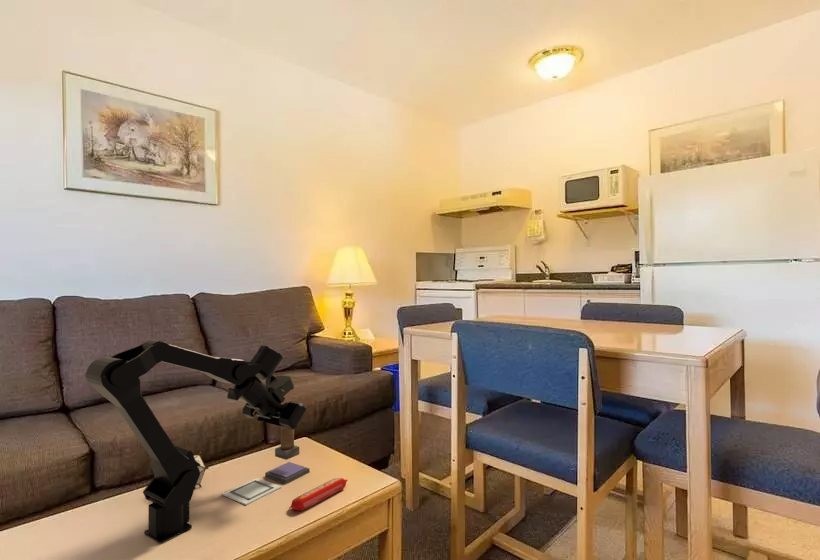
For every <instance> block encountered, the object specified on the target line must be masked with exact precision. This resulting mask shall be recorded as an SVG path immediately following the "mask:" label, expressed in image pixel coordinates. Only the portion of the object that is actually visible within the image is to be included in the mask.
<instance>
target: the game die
mask: <svg viewBox="0 0 820 560" xmlns="http://www.w3.org/2000/svg"><path fill="white" fill-rule="evenodd" d="M201 454H202V451H200V452H198V454H193V455H194V458H195V460H196V461H197V463H199V464H200V466H197V467H198V468H199V470H200V476H199V479H198V481H197V483H196V485H195V487H196V486H199V488H202V484H201V483H202V480H203V478H204V475H205V472H206V470H208V469H209V468H210V467H208V466H206V465H205V463H204V461H203V459H202V457H201Z"/></svg>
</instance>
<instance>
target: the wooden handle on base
mask: <svg viewBox="0 0 820 560" xmlns="http://www.w3.org/2000/svg"><path fill="white" fill-rule="evenodd" d="M299 455H300V446H299V445H295V430H293V429H289V428H285V427H281V426H280V446H279V447H276V448H275V449H274V457H275V458H279V459H283V460H285V461H287V460H290V459H292V458H294V457H296V456H299Z"/></svg>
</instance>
